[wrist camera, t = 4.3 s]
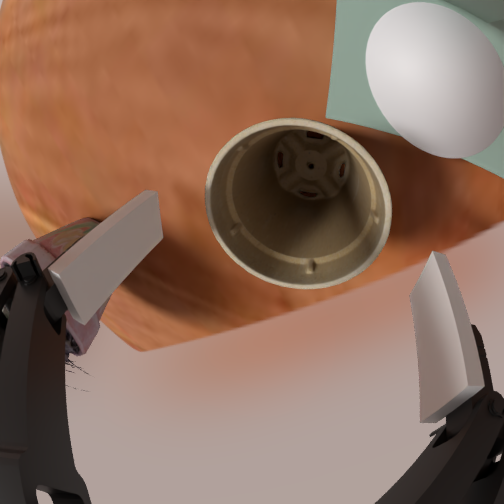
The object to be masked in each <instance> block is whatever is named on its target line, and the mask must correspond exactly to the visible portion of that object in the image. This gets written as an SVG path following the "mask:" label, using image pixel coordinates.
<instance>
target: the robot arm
mask: <svg viewBox="0 0 504 504" xmlns="http://www.w3.org/2000/svg"><path fill="white" fill-rule="evenodd" d="M162 239H163V232H162V224H161V217H160V209H159V200H158V192H157V191H150V190H144V191H143V192H142V193H140V194H139V195H137V196H136V197H135V198H133V199H132V200H130V201H129V202H128V203H126V204H125V205H124V206H122V207H121V208H120V209H118V210H117V211H116V212H114V213H113V214H112V215H110V216H109V217H108V218H106V219H105V220H104V221H103V222H101V223H100V224H99V225H98V226H96V227H95V228H94V229H93V230H91V231H90V232H89V233H88V234H86V235H84V236H82V237H81V238H79V239H78V240H77V241H75V242H74V243H73V244H72V246H70V247H68V248H67V249H66V251H64V252H63V253H62V254H61V255H59V256H58V257H57V258H56V259H55V260H54V261H53V262H52V263H51V264H49V265H48V266H47V267H46V268H45V269H44V270H43V271H42V269H41V267H40V264H39V262H38V260H37V258H36V255H35V254H34V253H32V252H27V253H24V254H22V255H20V256H19V257H17V258H16V259H15V260H14V261H13V262H12V264H11V267H8V266H7V267H3V268H2V269H0V504H38V500H37V496H36V489H37V490H40V491H44V492H46V493H48V494H49V495H50V497H51V498H52V501H53V504H91V501H90V497H89V494H88V490H87V487H86V484H85V482H84V480H83V478H82V477H81V476H80V475H79V474H78V472H77V470H76V468H75V465H74V459H73V454H72V448H71V441H70V435H69V426H68V419H67V418H68V417H67V405H66V390H65V340H66V322H67V319H66V315H65V314H64V313H65V312H66V311H67V310H69V312H70V314H71V316H72V317H73V319H75V320H76V321H78V322H80V323H81V324H83V325H86V323H87V322H88V321H89V320H90V319H91V317H92V316H93V315H94V314H95V313H96V311H97V310H98V309H99V308H100V307H101V305H102V304H103V303H104V302H105V301H106V300H107V298H108V297H109V296H110V295H111V294H112V293H113V292H114V290H115V289H116V288H117V287H118V286H119V285H120V284H121V283H122V281H123V280H124V279H125V278H126V277H127V276H128V275H129V274H130V273H131V271H132V270H133V269H134V268H135V267H136V266H137V265H138V264H139V263H140V262H141V261H142V260H143V259H144V257H145V256H146V255H147V254H148V253H149V252H150V251H151V250H152V249H153V248H154V247H155V246H156V245H157V244H158V243H159V242H160V241H161V240H162ZM410 302H411V308H412V315H413V321H414V328H415V336H416V346H417V356H418V369H419V387H420V423H437V422H438V421H440V420H441V419H443V418H444V417H446V424H445V425H443V426H441V427H440V428H438V429H437V430H435V431H433V432H432V433H431V434H430V437H431V436H433V435H435V434H436V436H435V437H434V438H433V440H432V441H431V442H430V444H429V445H428V446H427V448H426V449H425V450H424V451H423V453H422V454H421V455H420V456H419V457H418V459H417V460H416V461H415V462H414V463H413V465H412V466H411V467H410V468H409V469H408V470H407V471H406V473H405V474H404V475H403V476H402V477H401V478H400V479H399V480H398V481H397V482H396V483H395V484H394V485H393V486H392V487H391V488H390V489H389V490H388V491H387V493H385V494H384V495H383V496H382V497H381V498H380V499H379V500H378V501H377V502H376V503H375V504H504V398H503V397H502V395H501V394H499V393H498V392H497V391H494V390H493V385H492V380H491V375H490V369H489V364H488V360H487V358H486V352H485V349H484V344H483V340H482V336H481V334H480V333H479V331H478V329H477V327H476V326H475V325H472V324H471V323H470V320H469V317H468V313H467V310H466V307H465V304H464V301H463V298H462V295H461V292H460V290H459V287H458V284H457V281H456V279H455V276H454V274H453V271H452V269H451V266H450V264H449V261H448V259H447V257H446V255H445V254H442V253H438V252H435V251H432V253H431V255H430V257H429V259H428V261H427V263H426V265H425V267H424V269H423V271H422V273H421V275H420V277H419V279H418V281H417V283H416V284H415V286H414V288H413V290H412V292H411V294H410ZM4 306H5V307H6V309H7V310H8V312H9V313H10V314H9V318H6V316H5V315H4V313H3V312H2V310H3V308H4ZM500 454H502V456H501V459H500V461H498V462H495V460H496V456H498V455H500Z"/></svg>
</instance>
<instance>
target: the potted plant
mask: <svg viewBox="0 0 504 504" xmlns="http://www.w3.org/2000/svg"><path fill="white" fill-rule="evenodd" d="M99 224H100V223H99V222H97V221H95V220H93V219H91V218H83V219H80V220H77V221H75V222H73V223H70V224H68V225H66V226H63V227H61V228H59V229H57V230H55V231H53V232H50V233H48V234H46V235H44V236H42V237H40V238H37V239H35V240H33V241H32V240H30V239H28V240H24V241H23V242H21V243H20V244H19V245H17V246H16V247H14V248H13V249H12V250H10V251H9V252H7V253H6V254H5V255H4V256H2V258H1V261H0V264H1V269H2V268H3V267H7V266H8V267H11V264H12V262H13V261H14V260H15V259H16V258H17V257H19V256H20V255H22V254H24V253H27V252H32V253H34V254H35V255H36V258H37V260H38V262H39V264H40V267H41V269H42V271H43V270H44V269H45V268H46V267H47V266H48V265H49V264H51V263H52V262H53V261H54V260H55V259H56V258H57V257H58V256H59V255H61V254H62V253H63V252H64V251H66V249H67V248H68V247H70V246H72V244H73V243H74V242H75V241H77V240H78V239H79V238H81V237H82V236H84V235H86V234H88V233H89V232H90V231H91V230H93V229H94V228H95V227H96V226H98V225H99ZM111 295H112V294H111ZM111 295H110V296H109V297H108V298H107V300H106V301H105V302H104V303H103V304H102V305H101V307H100V308H99V309H98V310H97V311H96V313H95V314H94V315H93V316H92V317H91V319H90V320H89V321H88V322H87V323H86V325H83V324H81V323H80V322H78V321H76V320H75V319H73V317H72V316H71V314H70V312H69V310H67V311H66V312H65V313H64V314H65V315H66V319H67V322H66V340H65V361H66V362H71V363H72V361H70V360H69V359H68V357H69V353H72V354H74V355H76V356H81V355H83V354H85V353H86V352H87V350H88V348H89V347H90V345H91V343H92V341H93V340H94V338H95V336H96V335H97V333H98V330H99V328H100V323H99V321H100V318H101V316H102V314H103V312H104V309H105V307H106V305H107V303H108V301H109V299H110V297H111ZM2 312H3V313H4V315H5V316H6V318H9V314H10V313H9V312H8V310H7V309H6V307H5V306H4V308H3V310H2ZM66 362H65V364H68V363H66ZM72 364H73V363H72ZM68 365H70V364H68ZM73 365H74V364H73ZM73 365H71V366H73ZM77 368H78V367H77ZM80 370H81V369H80ZM69 372H71V371H69Z"/></svg>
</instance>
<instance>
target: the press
mask: <svg viewBox="0 0 504 504" xmlns="http://www.w3.org/2000/svg"><path fill="white" fill-rule="evenodd" d="M326 118H330V119H335V120H339V121H344V122H349V123H353V124H357V125H361V126H365V127H369V128H373V129H377V130H381V131H384V132H388V133H391V134H395V135H398V136H401V137H403V138H405V139H406V140H407V141H409V142H410V143H411V144H413V145H414V146H416V147H418V148H419V149H421V150H423V151H425V152H428V153H430V154H433V155H436V156H439V157H445V158H462V159H464V160H466V161H468V162H471V163H473V164H475V165H477V166H479V167H482V168H484V169H486V170H488V171H490V172H492V173H494V174H496V175H498V176H500V177H502V178H504V0H337V7H336V23H335V36H334V48H333V58H332V68H331V77H330V86H329V95H328V103H327V111H326Z"/></svg>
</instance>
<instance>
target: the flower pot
mask: <svg viewBox="0 0 504 504" xmlns="http://www.w3.org/2000/svg"><path fill="white" fill-rule="evenodd" d="M308 131H314V132H317V133H321V134H323V138H322V139H318V138H313V137H307V132H308ZM278 152H282V153H283V154H284V155H283V159H282V167H279V164H278ZM309 164H313V165H314V167H313V168H311V169H310V168H309V167H308V165H309ZM341 164H345V169H344V174H343V176H342V177H339V175H340V170H339V169H340V168H341ZM301 191H304V192H309V193H316V196H313V197H308V196H304V195H302V194H301V193H300V192H301ZM205 205H206V212H207V216H208V220H209V224H210V226H211V228H212V231H213V233H214V235H215V237H216V239H217V241H218V242H219V243H220V244H221V246H222V248H223V249H224V250H225V252H226V253H227V254H228V255H229V256H230V257H231V258H232V259H233V260H234V261H235V262H236V263H237V264H239V265H240V266H241V267H243V268H244V269H245V270H246V271H247V272H249V273H251V274H253V275H254V276H256V277H258V278H260V279H262V280H264V281H267V282H269V283H273V284H276V285H280V286H282V287H289V288H297V289H319V288H325V287H329V286H334V285H337V284H340V283H343V282H345V281H347V280H350V279H351V278H353V277H355V276H357V275H358V274H360V273H361V272H363V271H364V270H365V269H366V268H367V267H369V266H370V265H371V264H372V263H373V261H374V260H375V259H376V258H377V257H378V255H379V254H380V252H381V250H382V249H383V247H384V245H385V243H386V240H387V238H388V235H389V231H390V226H391V219H392V201H391V195H390V192H389V188H388V185H387V182H386V180H385V177H384V175H383V173H382V171H381V169H380V168H379V166H378V164H377V163H376V161H375V160H374V158H373V157H372V156H371V155H370V154H369V153H368V152H367V151H366V149H365V148H364V147H363V146H361V145H360V144H359V143H358V142H357V141H355V140H354V139H353V138H351V137H350V136H349V135H347V134H345V133H344V132H342V131H340V130H338V129H336V128H335V127H332V126H330V125H327V124H324V123H322V122H318V121H314V120H309V119H303V118H281V119H274V120H269V121H265V122H261V123H258V124H256V125H253V126H251V127H249V128H247V129H245V130H244V131H242V132H241V133H239V134H237V135H236V136H234V137H233V138H232V139H231V140H230V141H229V142H227V144H226V145H225V146H224V147H223V148H222V149H221V150H220V152H219V153H218V154H217V156H216V158H215V159H214V161H213V163H212V165H211V167H210V170H209V173H208V176H207V182H206V186H205Z"/></svg>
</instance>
